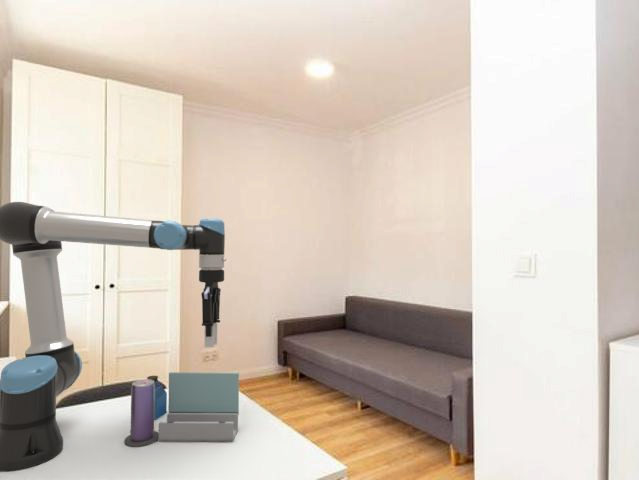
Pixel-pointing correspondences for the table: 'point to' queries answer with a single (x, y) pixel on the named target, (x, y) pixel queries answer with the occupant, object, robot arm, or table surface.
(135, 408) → the beverage can
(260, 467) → the table surface
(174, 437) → the grey rectangular tray
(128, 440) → the coaster
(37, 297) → the robot arm
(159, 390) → the perfume bottle
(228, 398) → the cover
